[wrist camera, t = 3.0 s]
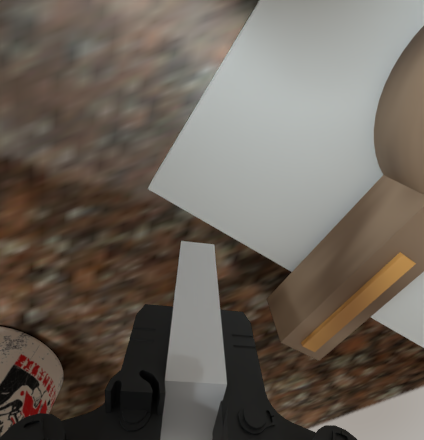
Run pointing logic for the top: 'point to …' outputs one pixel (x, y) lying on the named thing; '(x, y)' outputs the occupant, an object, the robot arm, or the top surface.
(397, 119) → the brown lidded pan
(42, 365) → the teacup with lid
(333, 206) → the white flat board
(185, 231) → the top surface
